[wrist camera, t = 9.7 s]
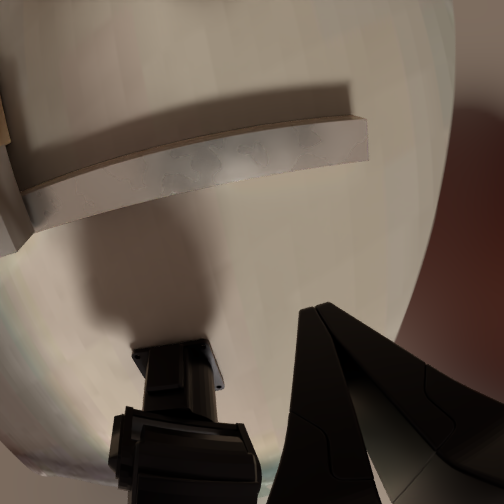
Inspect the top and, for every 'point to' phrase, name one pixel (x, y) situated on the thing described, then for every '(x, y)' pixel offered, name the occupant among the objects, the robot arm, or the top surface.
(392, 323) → the top surface
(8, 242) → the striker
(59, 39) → the top surface
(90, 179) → the rail
